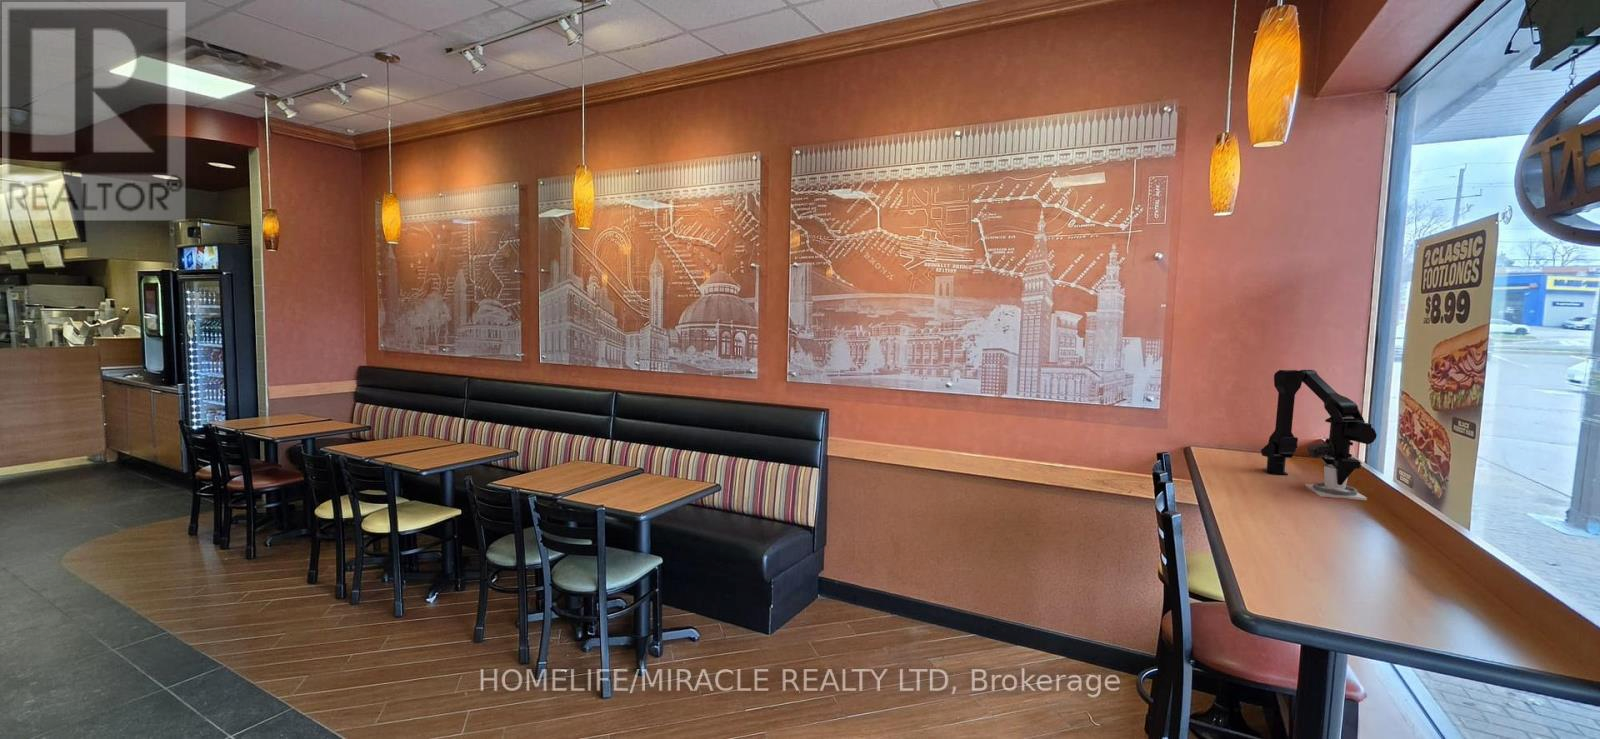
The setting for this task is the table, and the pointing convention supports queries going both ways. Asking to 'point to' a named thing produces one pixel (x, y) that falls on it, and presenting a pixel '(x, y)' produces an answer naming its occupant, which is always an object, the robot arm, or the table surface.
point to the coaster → (1335, 491)
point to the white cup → (1332, 477)
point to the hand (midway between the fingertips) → (1335, 482)
